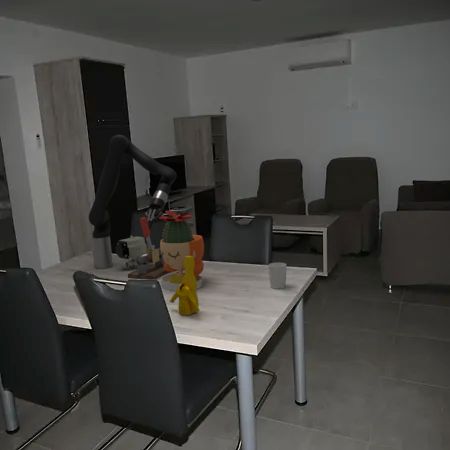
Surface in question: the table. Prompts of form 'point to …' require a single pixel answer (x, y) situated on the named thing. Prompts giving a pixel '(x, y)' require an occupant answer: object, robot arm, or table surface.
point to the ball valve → (131, 249)
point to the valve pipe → (149, 259)
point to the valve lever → (146, 230)
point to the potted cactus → (180, 250)
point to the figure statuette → (187, 290)
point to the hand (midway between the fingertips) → (147, 228)
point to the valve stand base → (150, 273)
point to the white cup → (277, 275)
